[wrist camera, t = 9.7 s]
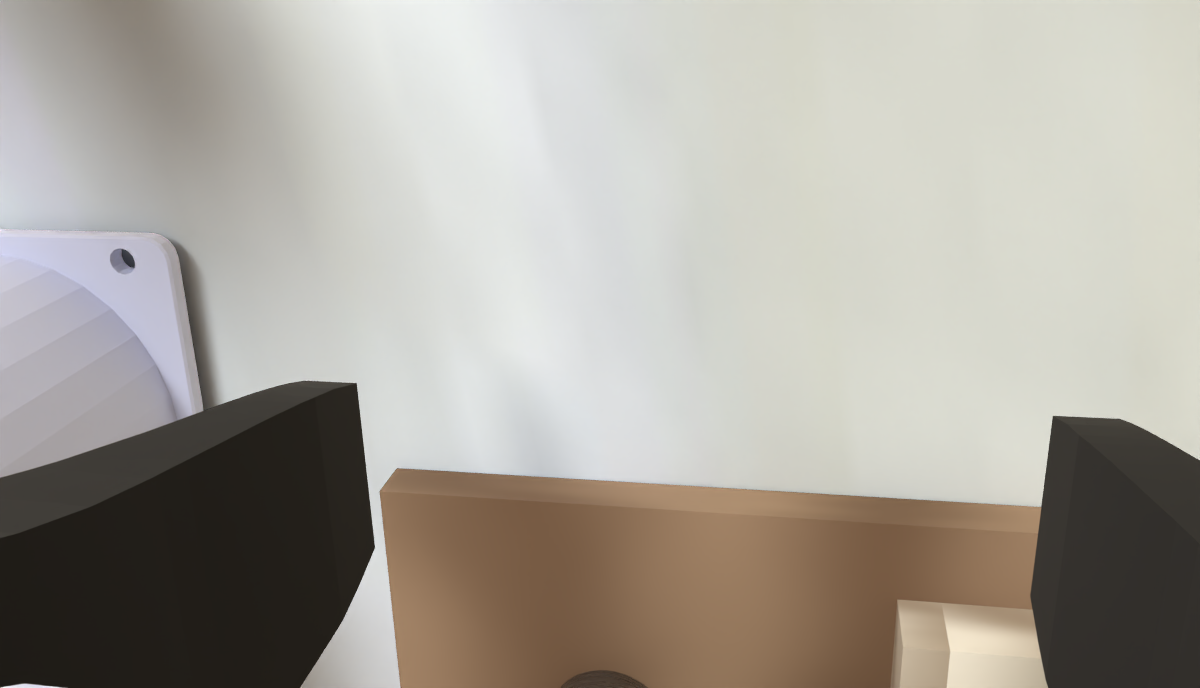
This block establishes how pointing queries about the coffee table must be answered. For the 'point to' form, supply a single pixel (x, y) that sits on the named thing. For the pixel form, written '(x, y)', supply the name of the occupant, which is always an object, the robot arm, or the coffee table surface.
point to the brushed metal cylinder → (602, 680)
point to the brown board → (703, 586)
